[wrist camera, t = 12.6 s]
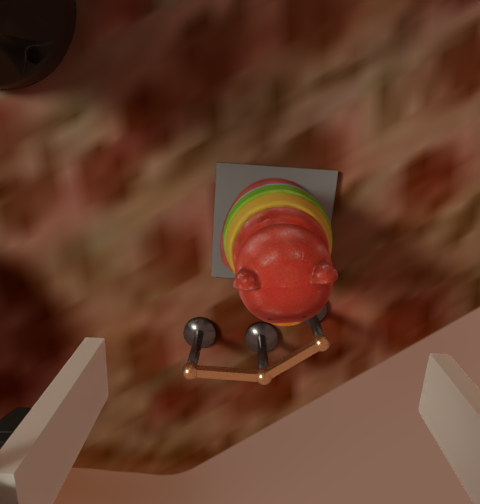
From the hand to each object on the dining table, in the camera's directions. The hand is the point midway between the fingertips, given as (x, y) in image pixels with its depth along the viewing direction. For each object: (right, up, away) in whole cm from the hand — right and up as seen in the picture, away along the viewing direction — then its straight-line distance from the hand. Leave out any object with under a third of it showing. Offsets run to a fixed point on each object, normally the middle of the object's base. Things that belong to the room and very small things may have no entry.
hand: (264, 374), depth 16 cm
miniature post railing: (+1, -3, +29) cm, 29 cm away
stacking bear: (+2, +8, +25) cm, 27 cm away
